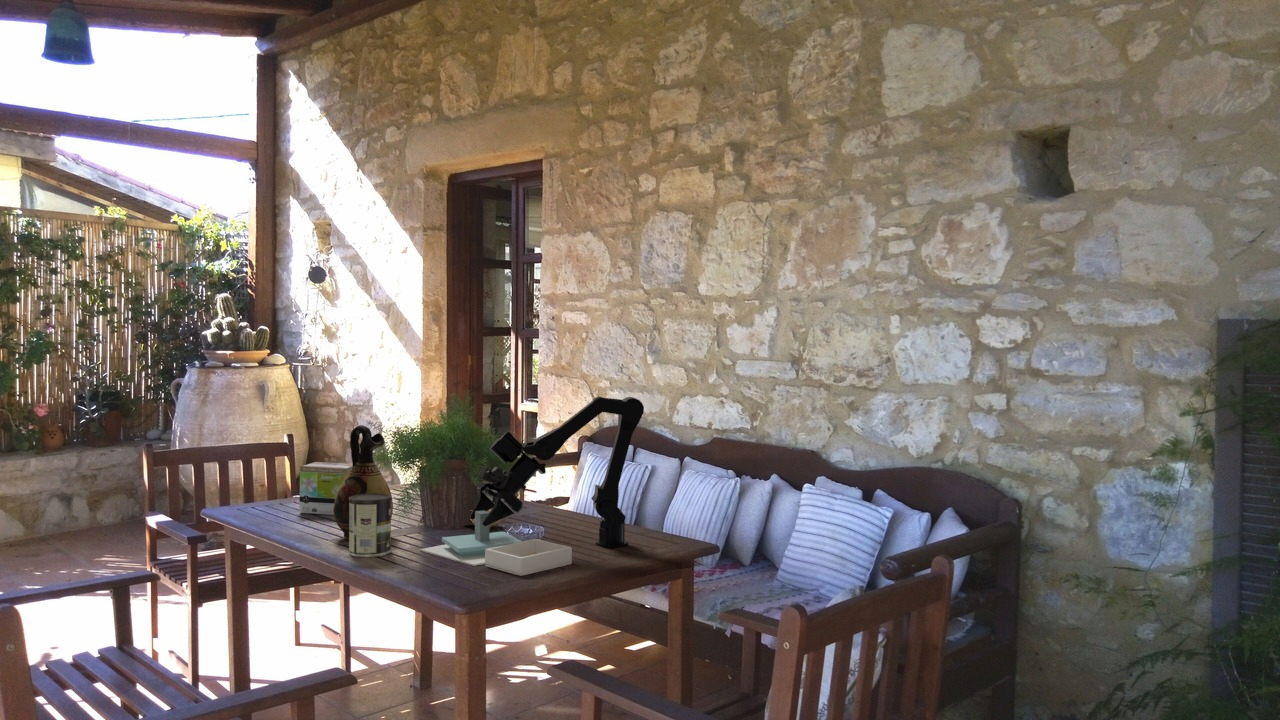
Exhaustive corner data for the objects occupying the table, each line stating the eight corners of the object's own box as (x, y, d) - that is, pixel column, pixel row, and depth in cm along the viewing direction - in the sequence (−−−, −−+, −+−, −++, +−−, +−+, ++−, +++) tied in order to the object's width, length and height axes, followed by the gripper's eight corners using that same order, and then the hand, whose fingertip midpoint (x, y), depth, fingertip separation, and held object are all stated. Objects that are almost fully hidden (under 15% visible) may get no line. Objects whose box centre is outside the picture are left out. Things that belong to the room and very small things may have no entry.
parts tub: (535, 554, 230) (535, 538, 230) (571, 563, 222) (571, 547, 222) (484, 565, 219) (485, 549, 218) (520, 575, 210) (521, 558, 210)
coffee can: (385, 546, 237) (385, 492, 237) (395, 555, 228) (396, 498, 228) (344, 550, 232) (344, 494, 232) (353, 559, 223) (353, 501, 223)
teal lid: (503, 540, 244) (504, 505, 243) (523, 551, 232) (523, 514, 231) (441, 547, 236) (441, 510, 235) (458, 558, 223) (458, 519, 223)
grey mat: (488, 537, 249) (488, 536, 249) (543, 551, 234) (543, 549, 234) (420, 550, 233) (420, 549, 233) (474, 566, 218) (474, 564, 218)
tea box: (298, 514, 278) (298, 465, 277) (314, 508, 288) (314, 461, 287) (345, 516, 276) (346, 467, 275) (360, 510, 286) (360, 462, 285)
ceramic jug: (404, 537, 248) (405, 426, 247) (354, 546, 236) (355, 430, 235) (367, 528, 259) (368, 422, 258) (318, 537, 247) (319, 425, 246)
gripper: (484, 450, 243) (443, 495, 238) (511, 459, 227) (468, 507, 222) (512, 478, 247) (472, 523, 242) (540, 488, 231) (498, 536, 226)
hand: (477, 521), depth 233 cm, fingers open, 9 cm apart
